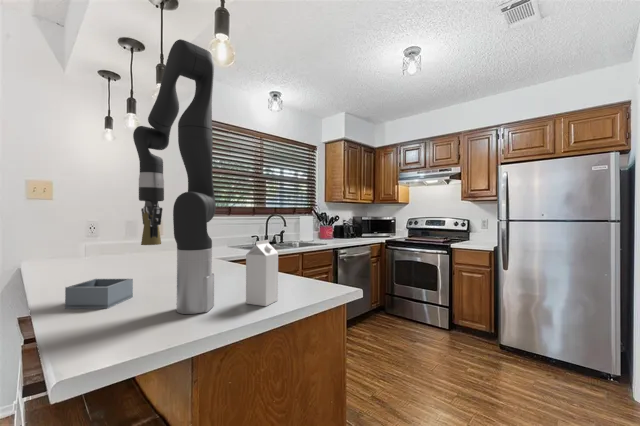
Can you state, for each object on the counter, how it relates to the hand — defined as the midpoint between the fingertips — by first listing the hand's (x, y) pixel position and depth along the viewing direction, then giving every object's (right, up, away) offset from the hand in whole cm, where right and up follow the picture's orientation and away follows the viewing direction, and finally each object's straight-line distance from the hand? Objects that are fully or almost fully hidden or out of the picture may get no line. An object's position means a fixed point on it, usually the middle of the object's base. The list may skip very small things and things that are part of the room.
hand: (151, 237), depth 104 cm
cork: (0, -2, 0) cm, 2 cm away
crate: (-10, -19, -10) cm, 24 cm away
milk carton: (+39, -19, -9) cm, 45 cm away
